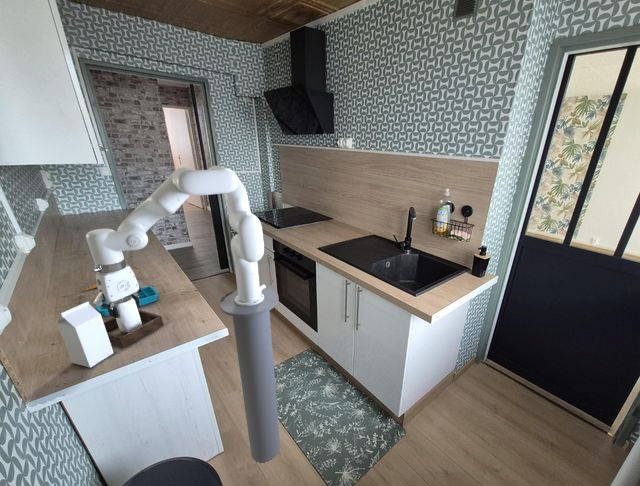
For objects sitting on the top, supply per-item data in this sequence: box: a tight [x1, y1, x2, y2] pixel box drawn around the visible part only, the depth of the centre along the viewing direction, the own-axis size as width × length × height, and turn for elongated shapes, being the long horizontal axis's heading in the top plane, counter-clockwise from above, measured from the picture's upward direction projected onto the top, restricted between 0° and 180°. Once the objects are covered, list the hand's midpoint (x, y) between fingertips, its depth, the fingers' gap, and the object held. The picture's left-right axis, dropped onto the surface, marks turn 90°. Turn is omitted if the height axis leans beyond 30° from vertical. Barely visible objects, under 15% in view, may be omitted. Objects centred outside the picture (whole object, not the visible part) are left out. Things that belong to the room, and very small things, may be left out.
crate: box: [103, 309, 164, 349], centre depth 106 cm, size 15×15×4 cm
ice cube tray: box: [94, 285, 160, 317], centre depth 123 cm, size 12×20×3 cm, turn 139°
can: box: [114, 296, 143, 334], centre depth 104 cm, size 6×6×12 cm
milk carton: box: [56, 301, 114, 369], centre depth 90 cm, size 7×7×19 cm
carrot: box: [82, 271, 137, 292], centre depth 137 cm, size 20×4×4 cm, turn 143°
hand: (126, 311), depth 104 cm, fingers closed on can, 6 cm apart
